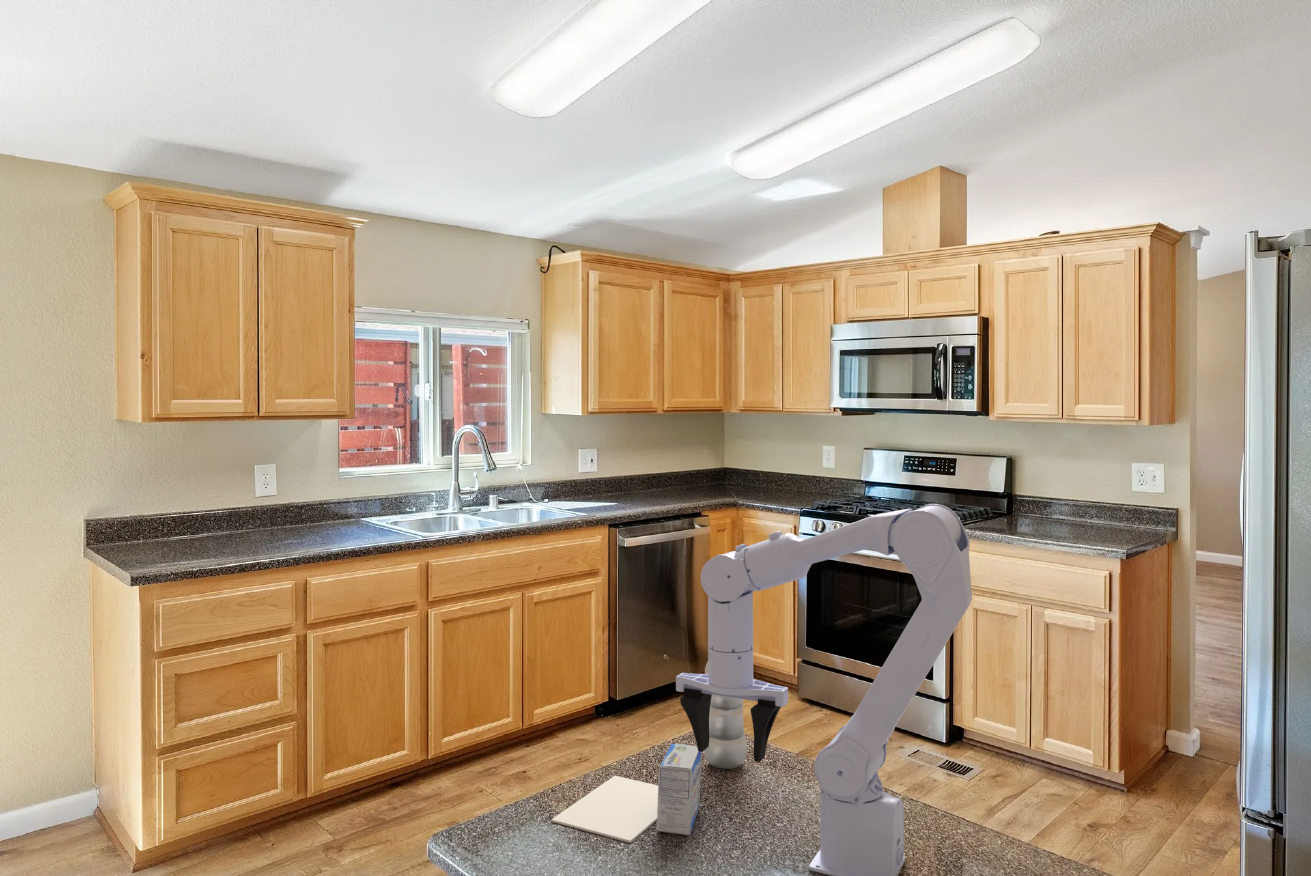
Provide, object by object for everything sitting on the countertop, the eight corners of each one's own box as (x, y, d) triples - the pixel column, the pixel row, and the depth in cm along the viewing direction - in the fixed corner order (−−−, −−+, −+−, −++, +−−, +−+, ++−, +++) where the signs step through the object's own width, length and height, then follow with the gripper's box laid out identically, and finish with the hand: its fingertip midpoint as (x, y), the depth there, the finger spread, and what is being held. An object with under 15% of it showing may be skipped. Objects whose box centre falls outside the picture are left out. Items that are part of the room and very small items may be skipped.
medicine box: (690, 837, 107) (693, 769, 107) (655, 832, 108) (658, 765, 108) (699, 808, 115) (702, 745, 114) (667, 804, 116) (670, 741, 115)
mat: (687, 794, 120) (687, 792, 120) (630, 842, 106) (630, 840, 106) (614, 777, 125) (614, 775, 125) (551, 821, 111) (551, 819, 111)
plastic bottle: (754, 762, 131) (754, 633, 131) (734, 777, 125) (734, 643, 125) (717, 754, 134) (717, 628, 134) (696, 768, 129) (696, 637, 129)
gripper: (795, 646, 108) (795, 752, 108) (691, 634, 114) (691, 734, 115) (777, 659, 102) (777, 772, 102) (668, 646, 108) (669, 752, 108)
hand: (730, 753), depth 108 cm, fingers open, 7 cm apart
